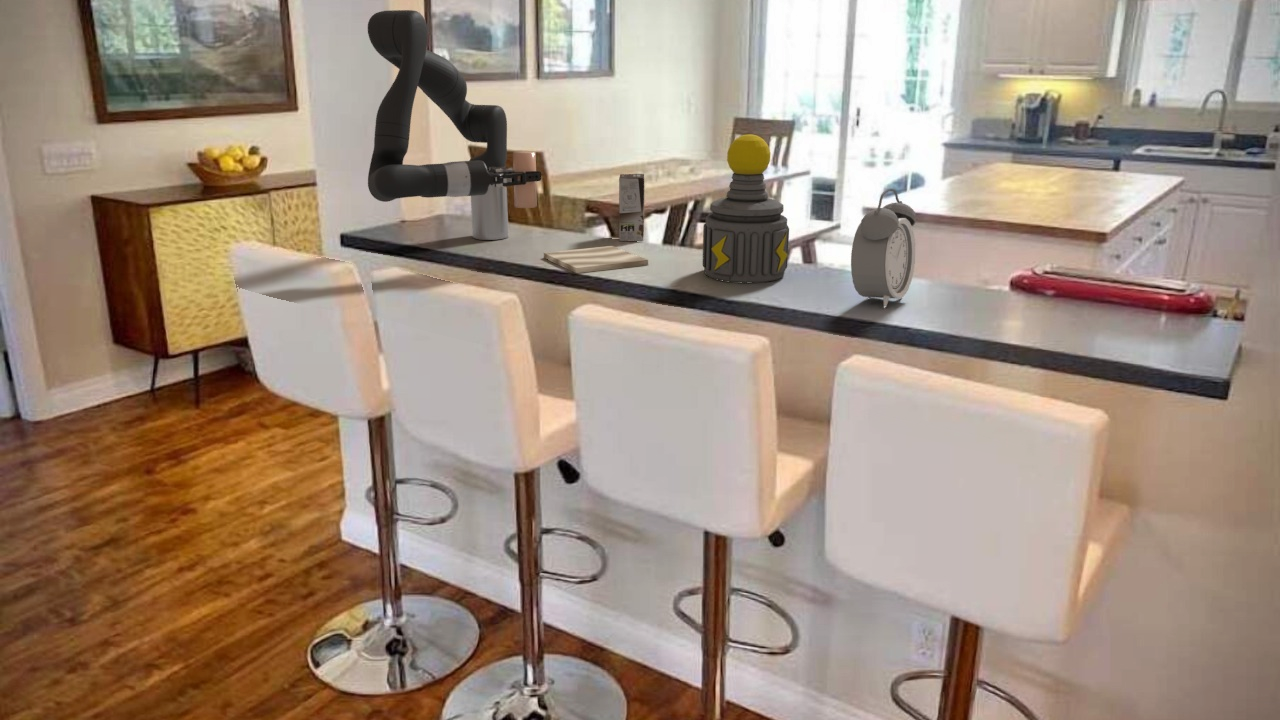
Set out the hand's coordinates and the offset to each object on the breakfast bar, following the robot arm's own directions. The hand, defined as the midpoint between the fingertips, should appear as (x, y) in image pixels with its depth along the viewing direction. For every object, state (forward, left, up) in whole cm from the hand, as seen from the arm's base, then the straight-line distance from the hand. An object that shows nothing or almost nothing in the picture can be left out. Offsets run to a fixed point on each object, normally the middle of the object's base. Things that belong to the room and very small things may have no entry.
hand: (535, 174), depth 215 cm
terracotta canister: (0, -3, -7) cm, 7 cm away
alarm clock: (+66, +44, -20) cm, 82 cm away
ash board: (+7, +11, -20) cm, 24 cm away
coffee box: (-14, +32, -20) cm, 41 cm away
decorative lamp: (+34, +34, -20) cm, 52 cm away
